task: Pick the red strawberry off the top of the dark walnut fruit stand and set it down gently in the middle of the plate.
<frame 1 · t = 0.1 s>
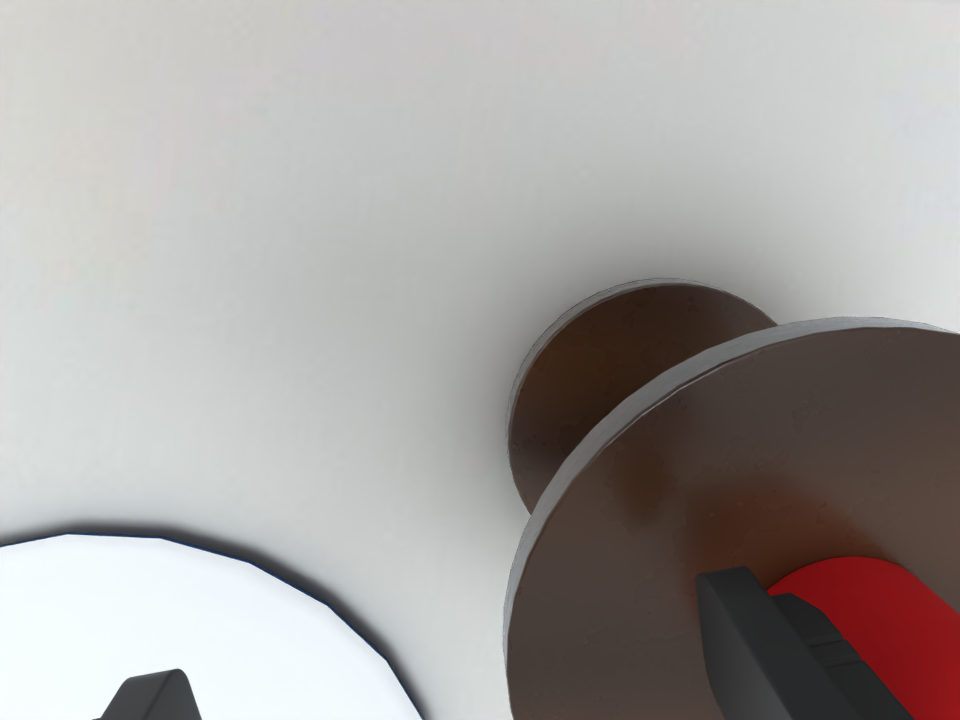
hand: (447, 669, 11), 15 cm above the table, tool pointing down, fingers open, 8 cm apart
strawberry: (836, 651, 14), point 13 cm above the table, touching fruit stand
fruit stand: (653, 425, 27), on the table
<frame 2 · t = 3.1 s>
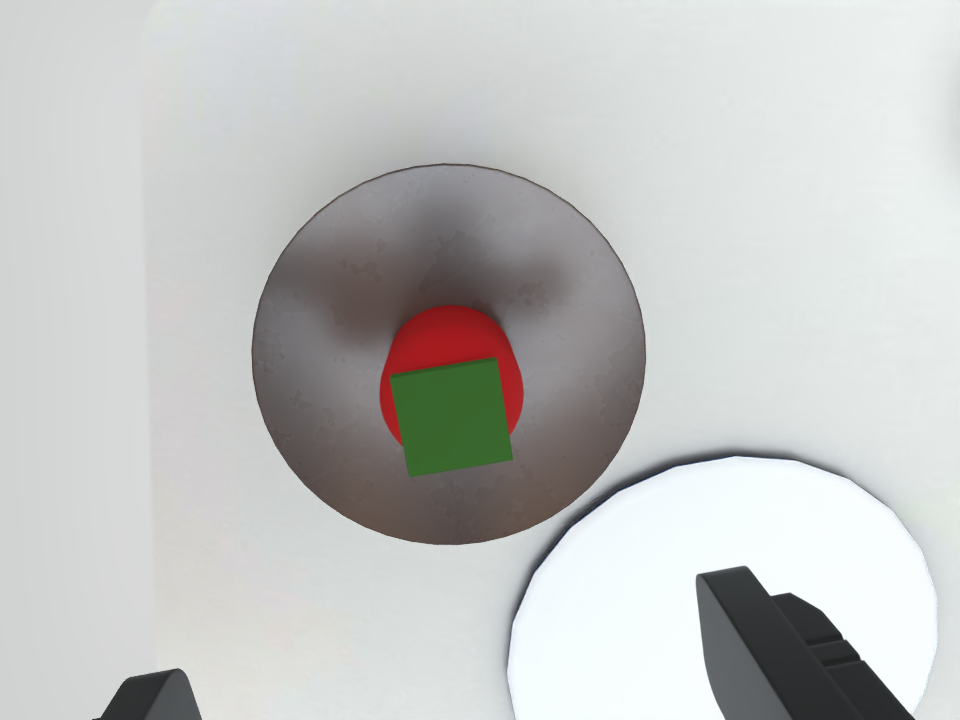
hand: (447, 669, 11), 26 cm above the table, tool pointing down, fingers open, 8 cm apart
strawberry: (451, 367, 24), point 13 cm above the table, touching fruit stand
plate: (716, 646, 42), on the table
fruit stand: (449, 299, 36), on the table
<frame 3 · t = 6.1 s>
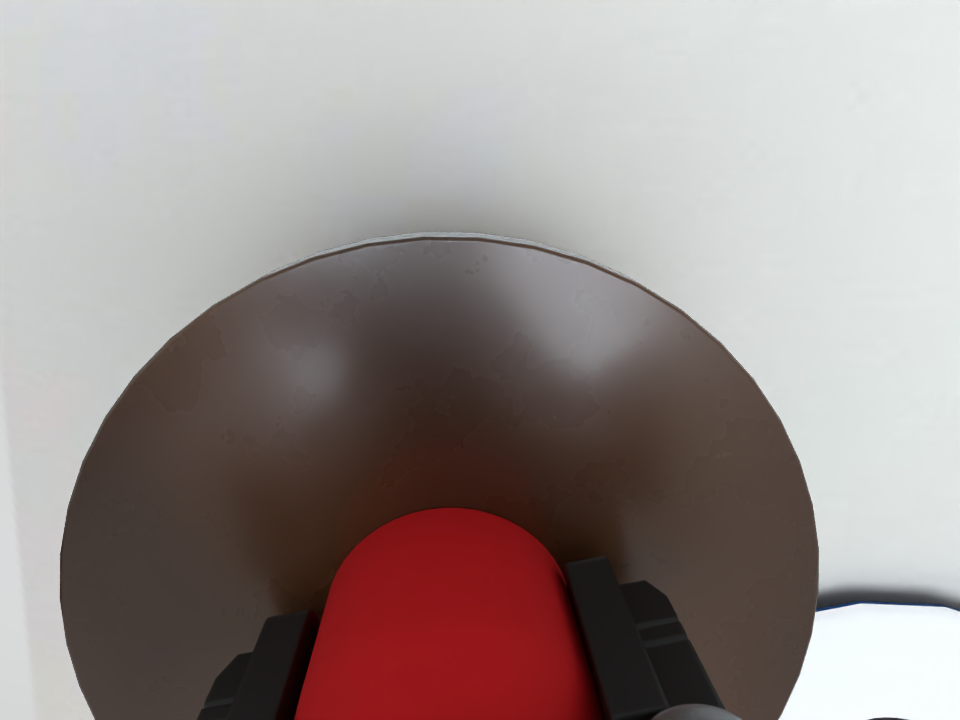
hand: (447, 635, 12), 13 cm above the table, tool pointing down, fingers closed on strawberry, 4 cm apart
strawberry: (449, 618, 12), point 13 cm above the table, touching fruit stand, gripper
fruit stand: (447, 393, 25), on the table
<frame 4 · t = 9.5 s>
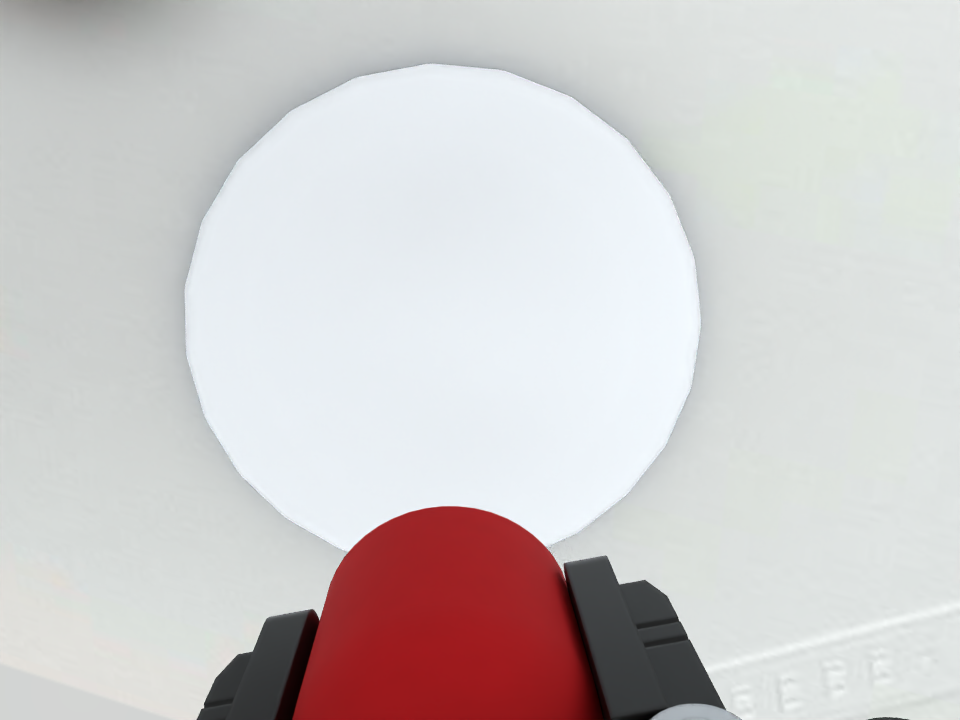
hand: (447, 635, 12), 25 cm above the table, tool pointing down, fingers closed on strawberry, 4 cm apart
strawberry: (448, 616, 12), point 24 cm above the table, touching gripper
plate: (447, 334, 36), on the table
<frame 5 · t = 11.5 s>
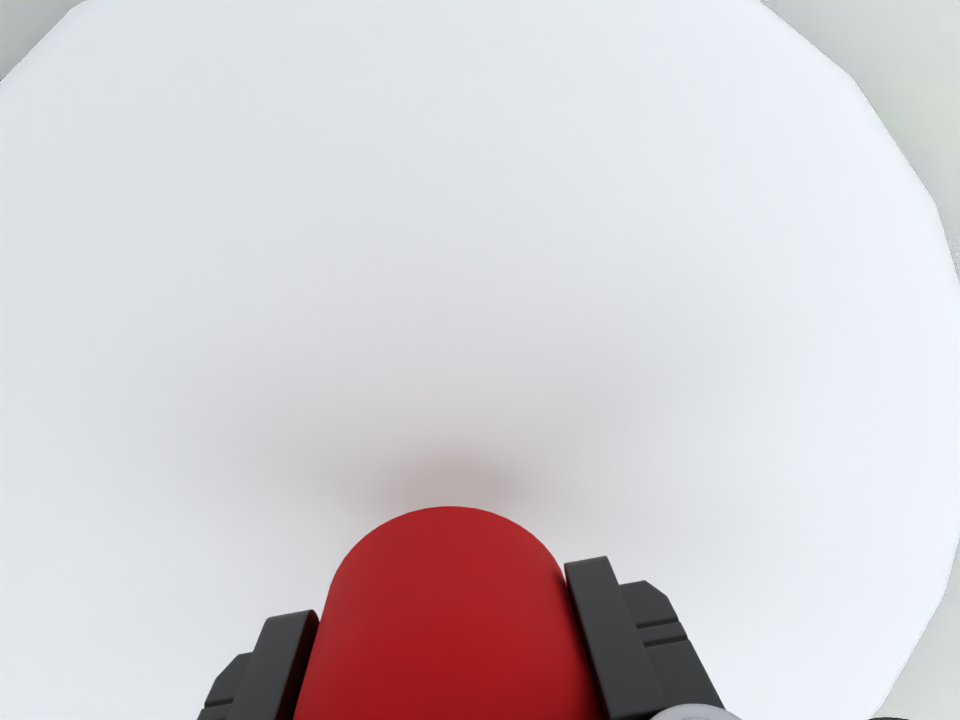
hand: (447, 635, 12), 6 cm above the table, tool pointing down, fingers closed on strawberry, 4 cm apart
strawberry: (449, 616, 12), point 5 cm above the table, touching gripper
plate: (444, 488, 18), on the table
when the fingers open (2 cm above the table, at t = 13.0 s): strawberry stays where it is, resting on plate.
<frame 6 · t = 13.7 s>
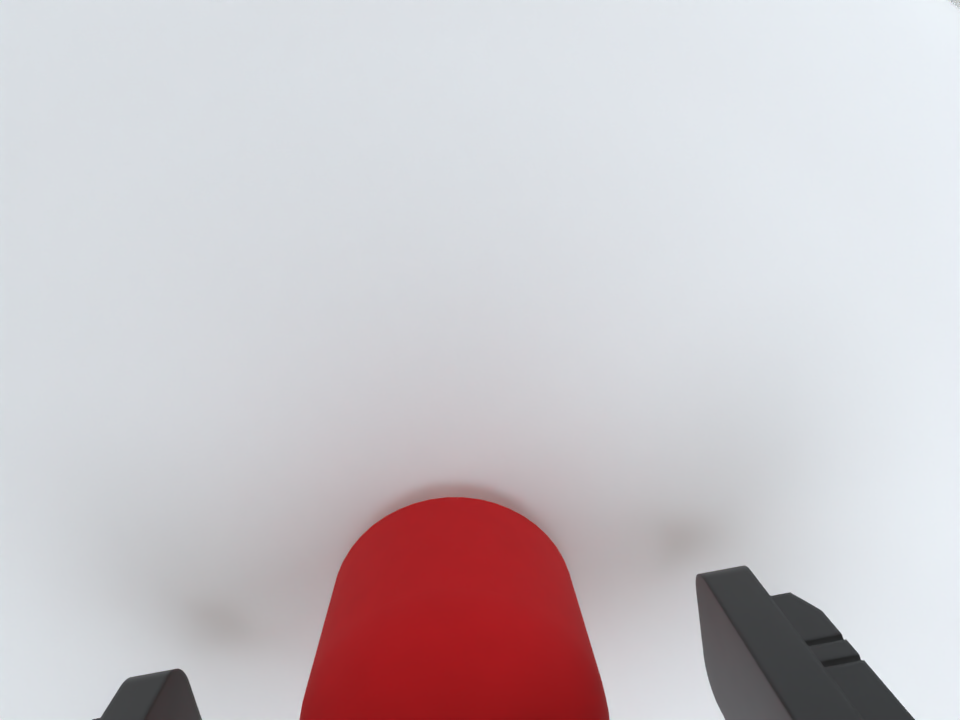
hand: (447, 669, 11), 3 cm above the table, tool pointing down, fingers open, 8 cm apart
strawberry: (453, 606, 13), point 1 cm above the table, touching plate
plate: (449, 565, 14), on the table, touching strawberry
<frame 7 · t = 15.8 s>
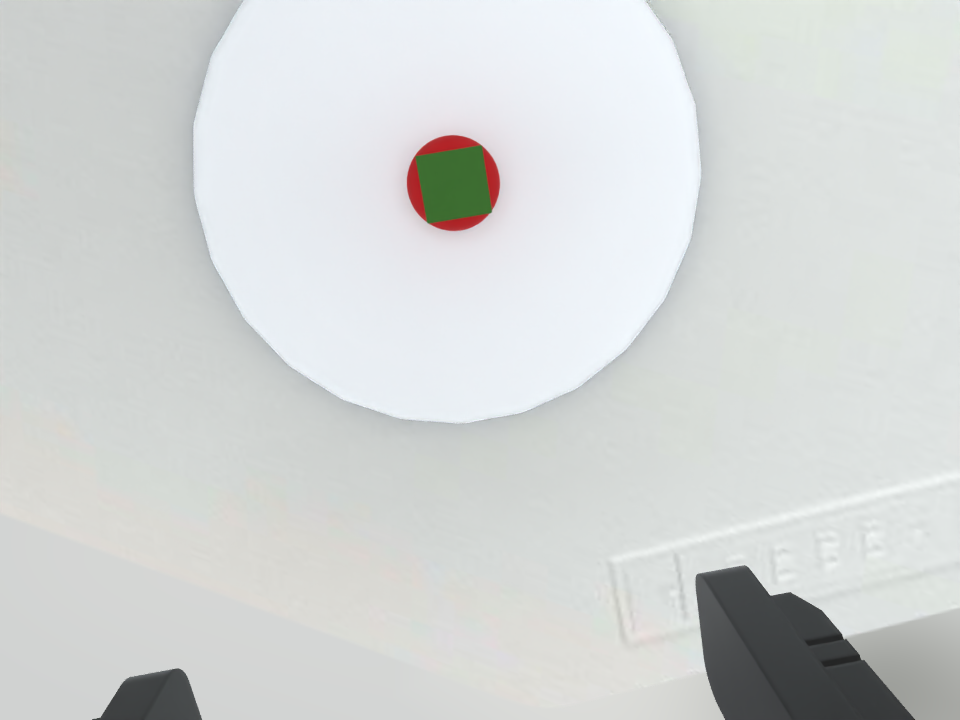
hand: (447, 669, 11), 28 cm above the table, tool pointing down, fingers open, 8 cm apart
strawberry: (452, 182, 35), point 1 cm above the table, touching plate
plate: (450, 183, 37), on the table, touching strawberry
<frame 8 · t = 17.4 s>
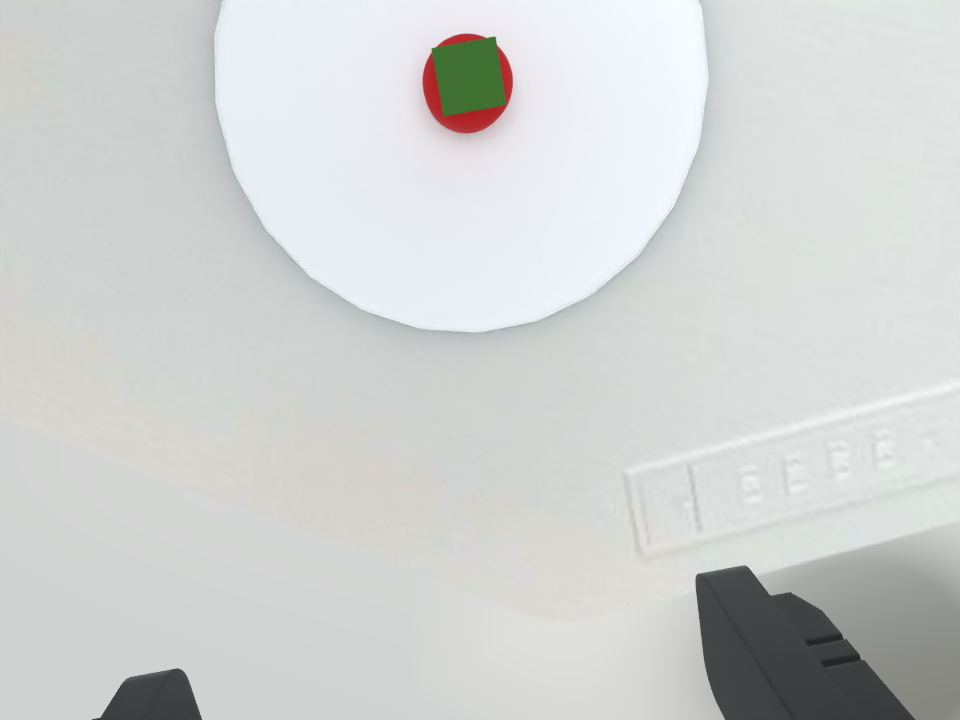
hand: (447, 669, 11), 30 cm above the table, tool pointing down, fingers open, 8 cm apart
strawberry: (466, 89, 36), point 1 cm above the table, touching plate
plate: (464, 94, 38), on the table, touching strawberry
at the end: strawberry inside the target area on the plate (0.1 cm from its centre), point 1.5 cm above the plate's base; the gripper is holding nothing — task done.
